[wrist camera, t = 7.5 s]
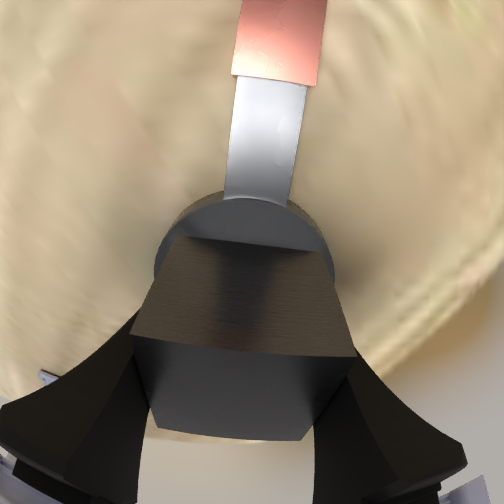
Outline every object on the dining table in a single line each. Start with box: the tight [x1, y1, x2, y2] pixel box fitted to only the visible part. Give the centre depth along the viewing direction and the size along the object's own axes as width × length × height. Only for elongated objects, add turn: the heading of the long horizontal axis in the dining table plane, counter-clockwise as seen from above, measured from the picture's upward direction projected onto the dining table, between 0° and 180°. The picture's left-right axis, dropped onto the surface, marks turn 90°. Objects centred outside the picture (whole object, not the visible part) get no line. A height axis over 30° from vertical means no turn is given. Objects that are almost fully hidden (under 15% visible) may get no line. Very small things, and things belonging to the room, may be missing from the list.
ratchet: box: [154, 0, 334, 285], centre depth 9 cm, size 20×8×4 cm, turn 173°
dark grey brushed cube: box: [129, 235, 357, 441], centre depth 10 cm, size 5×5×5 cm
